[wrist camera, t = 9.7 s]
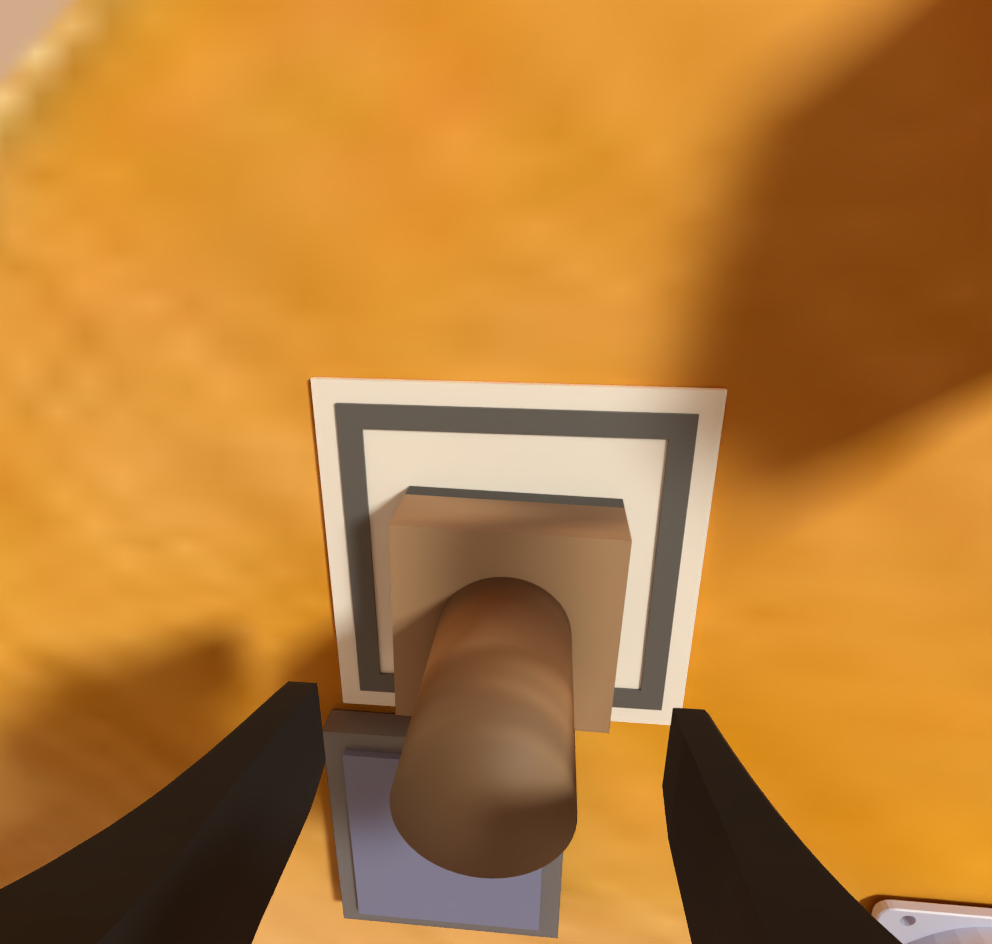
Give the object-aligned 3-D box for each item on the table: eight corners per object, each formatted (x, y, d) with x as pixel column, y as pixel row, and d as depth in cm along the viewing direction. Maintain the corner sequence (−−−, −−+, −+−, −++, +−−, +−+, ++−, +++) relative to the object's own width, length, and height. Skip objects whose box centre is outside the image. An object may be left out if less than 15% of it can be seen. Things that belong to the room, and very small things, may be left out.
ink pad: (568, 725, 22) (569, 754, 20) (557, 911, 25) (557, 945, 24) (331, 709, 22) (319, 737, 21) (351, 892, 26) (341, 924, 24)
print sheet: (725, 388, 17) (728, 391, 17) (678, 721, 21) (680, 727, 21) (313, 376, 18) (309, 379, 18) (345, 698, 22) (342, 704, 22)
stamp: (622, 498, 18) (666, 697, 11) (603, 674, 20) (628, 937, 13) (409, 485, 19) (311, 667, 11) (413, 658, 21) (334, 905, 14)
